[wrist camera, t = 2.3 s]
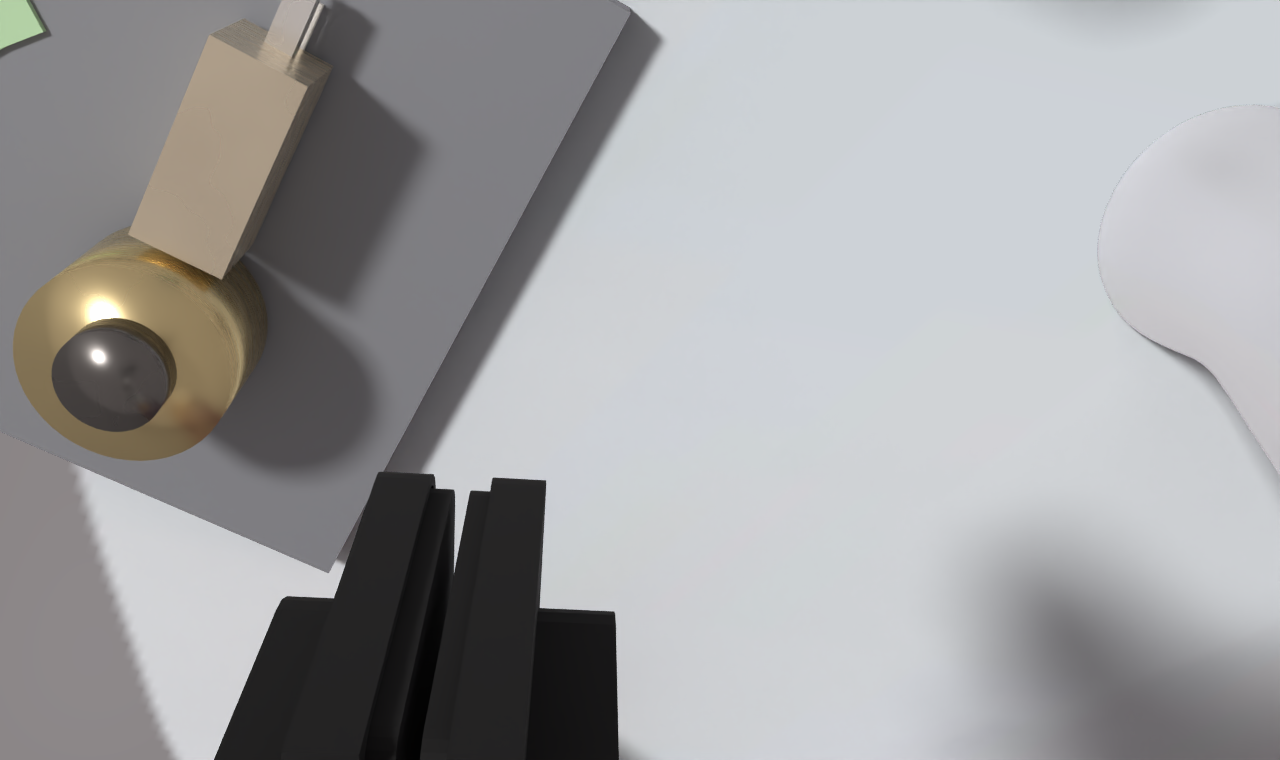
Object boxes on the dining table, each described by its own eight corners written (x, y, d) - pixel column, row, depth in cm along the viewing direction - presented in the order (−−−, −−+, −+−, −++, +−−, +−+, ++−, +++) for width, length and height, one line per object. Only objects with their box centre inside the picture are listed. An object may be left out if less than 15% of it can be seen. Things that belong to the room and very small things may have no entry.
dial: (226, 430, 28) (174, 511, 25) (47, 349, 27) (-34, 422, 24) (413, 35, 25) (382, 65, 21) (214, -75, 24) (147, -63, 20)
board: (336, 552, 31) (327, 576, 30) (-384, 238, 27) (-423, 253, 26) (629, 7, 26) (631, 14, 25) (-217, -487, 22) (-258, -505, 21)
